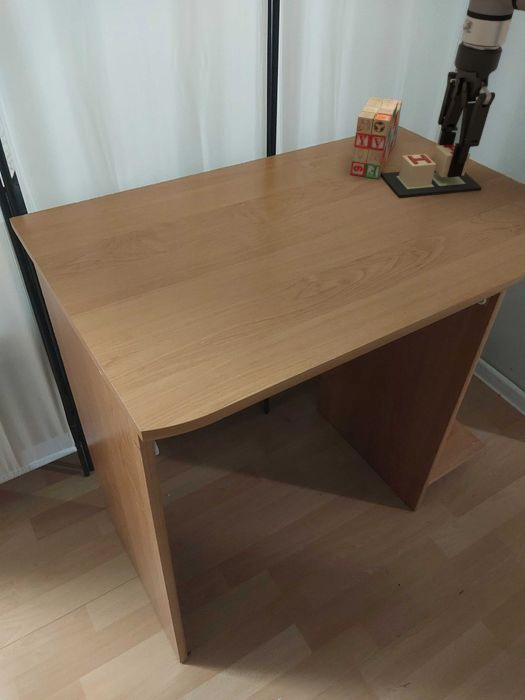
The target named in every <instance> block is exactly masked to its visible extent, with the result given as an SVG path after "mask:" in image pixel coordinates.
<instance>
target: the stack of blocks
mask: <svg viewBox="0 0 525 700" xmlns="http://www.w3.org/2000/svg"><path fill="white" fill-rule="evenodd" d="M402 105H403V100H399V99H396V98H395V99H394V98H385V97H377V96H369V98H368V100H367V102H366V104H365V106H364V107H363V108H362V110H361V111H360V113H359V114H358V116H357V122H356V132H355V137H354V144H353V146H354V147H353V155H352V160H351V166H350V168H351V169H350V172H349V173H350V175H351V176H358V177H362V178H364V177H365V178H370V179H375V180H379V179H380V178H381V173H383V171H384V169H385V167H386V165H387V162H388V159H389V157H390V153H391V152H392V150H393V148H394V145H395V143H396V141H397V135H398V130H399V125H400V119H401V111H402Z"/></svg>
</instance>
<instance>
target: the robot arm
mask: <svg viewBox="0 0 525 700" xmlns="http://www.w3.org/2000/svg"><path fill="white" fill-rule="evenodd" d="M515 11H522V12H525V0H469V3H468V7H467V11H466V15H465V19H464V23H463V24H462V30H461V35H460V40H461V42H460V43H459V44H458V47H457V50H456V55H455V58H454V59H455V60H454V63H453V64H454V67H455V68H456V69H457V71H448V73H447V79H446V86H445V91H444V96H443V99H442V103H441V104H442V105H441V107H440V112H439V116H438V118H437V119H438V120H437V124H438V126H441V127H440V131H441V136H440V140H439V145H438V146H440V145H453V144H455V148H454V152H453V156H452V160H451V164H450V167H449V171H448V175H447V176H448V177H460V176H461V175H462V171H463V168H464V164H465V162H466V160H467V156H468V153H469V152H470V150H471V148H473V147H479V146H480V143H481V139H482V137H483V132H484V129H485V126H486V122H487V120H488V116H489V111H490V108H491V106H492V104H493V101H494V100H495V98H496V92H495V91H489V89H488V87H489V77H490V75H491V74H492V73H493V72H495V71H496V70H497V69H498V67H499V64H500V60H501V56H502V53H503V48H502V46H503V45H505V43H506V41H507V37H508V32H509V30H510V27H511V24H512V19H513V15H514V12H515ZM460 118H461V123H460V131H459V137H458V138H459V139H458V142H456V143H455V141H456V138H457V131H458V130H459V127H458V126H457V125H458V123H459V120H460ZM469 154H470V153H469Z"/></svg>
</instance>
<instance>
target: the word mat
mask: <svg viewBox="0 0 525 700" xmlns="http://www.w3.org/2000/svg"><path fill="white" fill-rule="evenodd" d="M399 173H400V171H392V172H391V171H390V172H382V173H381V175H380V178H382V180H383V181H384V182H385V183H386V184H387V186H389V188H390V189H391V190H392V191H393V192H394V194H395V195H396V196H397V197H398V199H402V198H412V197H422V196H423V197H424V196H434V195H442V194H443V195H444V194H453V193H464V192H474V191H481V190H482V188H483V187H482V186H481V185H480V184H479V183H478V182H476V180H475V179H473V178H472V177H471V176H470V175H469V174H468V173H467V172H465V174H464V175H463V176H460V177H441V176H440V175H439V174H438V173H437V172H436V171H435V170H434V174H433V179H432V183H431V185H427V186H417V187H408V186H407V185H406V184H405V183H404V182H403V181H402V180H401V178H400V177H399ZM433 194H434V195H433Z"/></svg>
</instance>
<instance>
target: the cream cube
mask: <svg viewBox="0 0 525 700" xmlns="http://www.w3.org/2000/svg"><path fill="white" fill-rule="evenodd" d="M435 166H436V164H435V163H434V162H433V159H431V158H430V156H428V155H427V153H420V154H408V155H407V154H406V155H402V157H401V163H400V168H399V172H400V173H399V177H400V178H401V180H402V181H403V182H404V183H405V184H406V185H407V186H408V187H417V186H427V185H431V183H432V179H433V174H434V170H435Z"/></svg>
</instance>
